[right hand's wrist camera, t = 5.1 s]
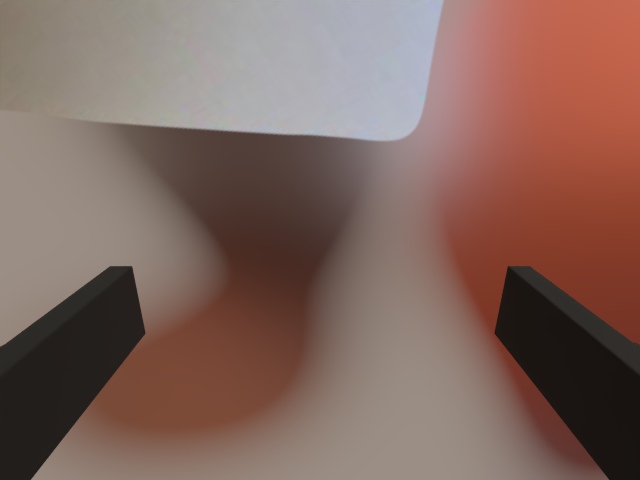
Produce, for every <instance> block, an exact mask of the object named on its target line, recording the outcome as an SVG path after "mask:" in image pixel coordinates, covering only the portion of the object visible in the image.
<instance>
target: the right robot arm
mask: <svg viewBox="0 0 640 480" xmlns="http://www.w3.org/2000/svg"><path fill="white" fill-rule="evenodd" d="M144 335H145V329H144V324H143V319H142V314H141V309H140V304H139V299H138V294H137V289H136V284H135V279H134V274H133V269H132V266H110V267H109V268H107V269H106V270H105V271H103V272H102V273H100V274H99V275H98V276H96V277H95V278H94V279H93V280H91V281H90V282H88V283H87V284H86V285H84V286H83V287H82V288H80V289H79V290H78V291H76V292H75V293H74V294H72V295H71V296H69V297H68V298H67V299H65V300H64V301H63V302H61V303H60V304H59V305H57V306H56V307H55V308H53V309H52V310H51V311H49V312H48V313H47V314H45V315H44V316H43V317H41V318H40V319H39V320H37V321H36V322H34V323H33V324H32V325H30V326H29V327H28V328H26V329H25V330H24V331H22V332H21V333H20V334H18V335H17V336H16V337H14V338H13V339H12V340H10V341H9V342H7V343H6V344H5V345H3V346H1V347H0V480H31V479H32V477H33V476H34V475H35V474H36V472H37V471H38V470H39V469H40V467H41V466H42V465H43V463H44V462H45V461H46V460H47V458H48V457H49V456H50V454H51V453H52V452H53V451H54V449H55V448H56V447H57V446H58V444H59V443H60V442H61V440H62V439H63V438H64V437H65V435H66V434H67V433H68V432H69V430H70V429H71V428H72V426H73V425H74V424H75V423H76V421H77V420H78V419H79V417H80V416H81V415H82V414H83V412H84V411H85V410H86V409H87V407H88V406H89V405H90V403H91V402H92V401H93V400H94V398H95V397H96V396H97V395H98V393H99V392H100V391H101V389H102V388H103V387H104V386H105V384H106V383H107V382H108V380H109V379H110V378H111V377H112V375H113V374H114V373H115V371H116V370H117V369H118V368H119V366H120V365H121V364H122V363H123V361H124V360H125V359H126V357H127V356H128V355H129V354H130V352H131V351H132V350H133V349H134V347H135V346H136V345H137V343H138V342H139V341H140V340H141V338H142V337H143V336H144ZM495 335H496V336H497V337H498V338H499V340H500V341H501V342H502V343H503V345H504V346H505V347H506V349H507V350H508V351H509V352H510V354H511V355H512V356H513V358H514V359H515V360H516V361H517V363H518V364H519V365H520V366H521V368H522V369H523V370H524V371H525V373H526V374H527V375H528V377H529V378H530V379H531V380H532V382H533V383H534V384H535V386H536V387H537V388H538V389H539V391H540V392H541V393H542V395H543V396H544V397H545V398H546V400H547V401H548V402H549V403H550V405H551V406H552V407H553V408H554V410H555V411H556V412H557V414H558V415H559V416H560V417H561V419H562V420H563V421H564V423H565V424H566V425H567V426H568V428H569V429H570V430H571V432H572V433H573V434H574V435H575V437H576V438H577V439H578V440H579V442H580V443H581V444H582V446H583V447H584V448H585V449H586V451H587V452H588V453H589V454H590V456H591V457H592V458H593V460H594V461H595V462H596V463H597V465H598V466H599V467H600V469H601V470H602V471H603V472H604V474H605V475H606V476H607V477H608V479H609V480H640V345H639V344H636V343H633V342H631V341H630V340H628V339H627V338H626V337H624V336H623V335H622V334H620V333H619V332H618V331H616V330H615V329H614V328H612V327H611V326H610V325H608V324H607V323H606V322H604V321H603V320H602V319H600V318H599V317H597V316H596V315H595V314H593V313H592V312H591V311H589V310H588V309H587V308H585V307H584V306H583V305H581V304H580V303H578V302H577V301H576V300H575V299H573V298H572V297H571V296H569V295H568V294H566V293H565V292H564V291H562V290H561V289H560V288H558V287H557V286H556V285H554V284H553V283H552V282H550V281H549V280H548V279H546V278H545V277H544V276H542V275H541V274H540V273H538V272H537V271H535V270H534V269H533V268H531V267H530V266H508V269H507V274H506V279H505V284H504V289H503V294H502V299H501V304H500V309H499V314H498V319H497V324H496V329H495Z"/></svg>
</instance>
